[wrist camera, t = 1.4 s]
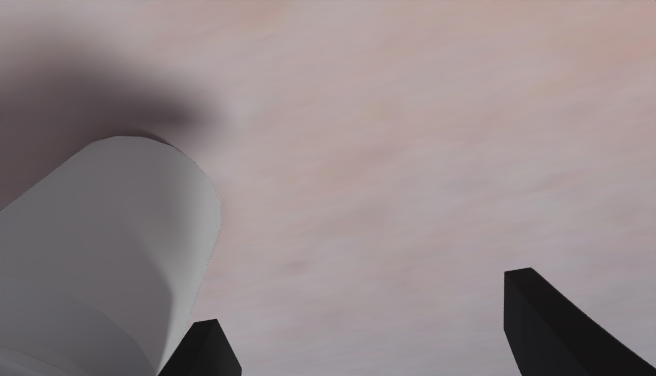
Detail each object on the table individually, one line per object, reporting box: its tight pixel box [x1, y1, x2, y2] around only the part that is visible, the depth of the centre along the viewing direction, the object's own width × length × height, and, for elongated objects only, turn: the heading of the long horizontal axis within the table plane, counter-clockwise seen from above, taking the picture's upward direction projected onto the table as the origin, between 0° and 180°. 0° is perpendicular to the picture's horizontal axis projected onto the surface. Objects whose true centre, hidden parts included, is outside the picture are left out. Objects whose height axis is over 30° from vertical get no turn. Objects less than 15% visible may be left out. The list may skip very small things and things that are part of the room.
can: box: [0, 136, 222, 376], centre depth 15 cm, size 8×8×12 cm
